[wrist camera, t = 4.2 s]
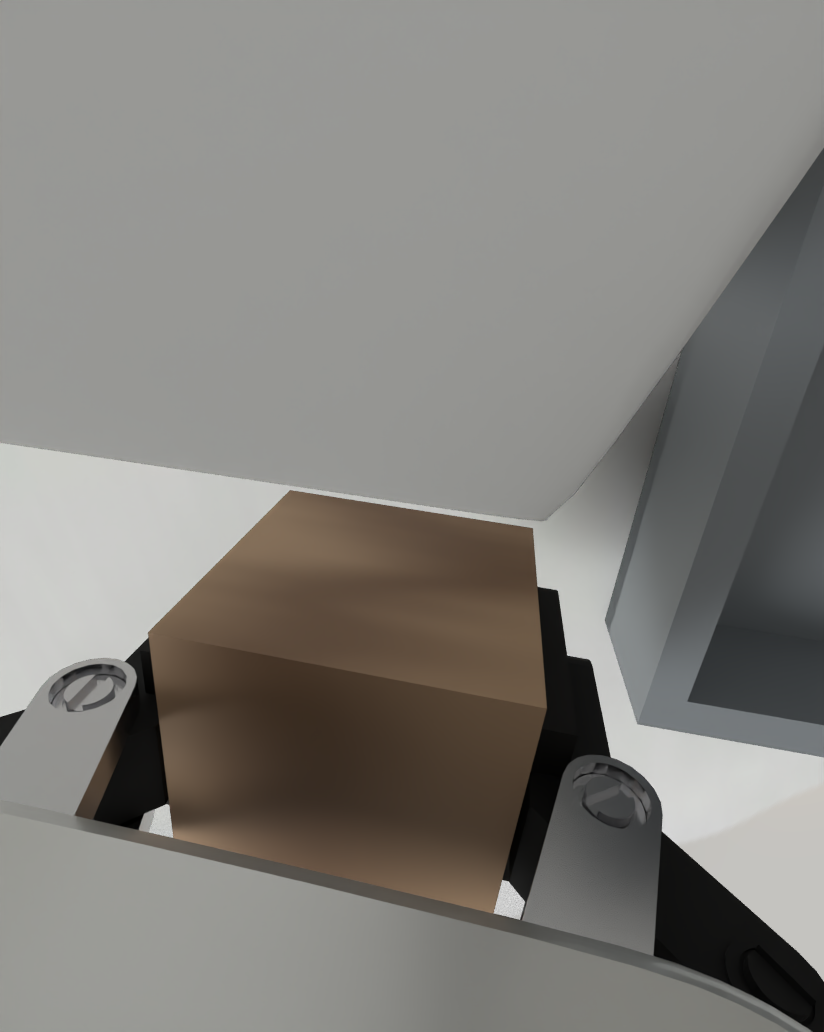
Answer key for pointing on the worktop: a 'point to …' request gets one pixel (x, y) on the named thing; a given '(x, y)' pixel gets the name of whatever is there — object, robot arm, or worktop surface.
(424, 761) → the walnut cube
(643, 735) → the worktop surface
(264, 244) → the milk carton
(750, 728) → the tote
